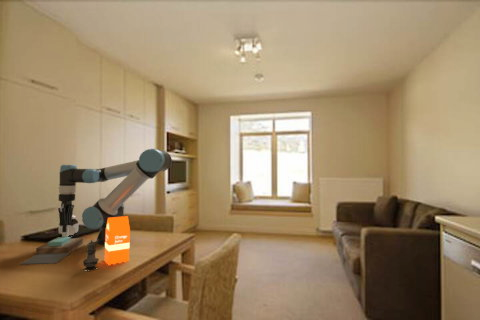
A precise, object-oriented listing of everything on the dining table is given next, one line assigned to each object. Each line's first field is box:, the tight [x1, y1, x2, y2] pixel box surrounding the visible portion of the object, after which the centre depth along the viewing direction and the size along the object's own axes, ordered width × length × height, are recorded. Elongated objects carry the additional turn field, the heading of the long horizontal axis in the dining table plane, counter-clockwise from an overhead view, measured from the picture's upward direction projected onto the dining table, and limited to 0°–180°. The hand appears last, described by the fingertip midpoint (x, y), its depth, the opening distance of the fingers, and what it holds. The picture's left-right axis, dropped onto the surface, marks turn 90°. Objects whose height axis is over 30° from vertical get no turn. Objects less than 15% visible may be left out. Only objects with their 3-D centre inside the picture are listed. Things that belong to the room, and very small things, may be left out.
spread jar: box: [58, 214, 79, 236], centre depth 168 cm, size 12×11×12 cm
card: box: [48, 236, 72, 246], centre depth 140 cm, size 6×10×2 cm, turn 9°
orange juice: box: [104, 215, 131, 266], centre depth 125 cm, size 8×9×20 cm
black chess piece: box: [82, 239, 99, 272], centre depth 114 cm, size 6×6×12 cm
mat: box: [20, 252, 71, 266], centre depth 125 cm, size 14×14×1 cm
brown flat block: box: [35, 237, 84, 255], centre depth 141 cm, size 14×18×3 cm
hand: (65, 237), depth 146 cm, fingers closed
